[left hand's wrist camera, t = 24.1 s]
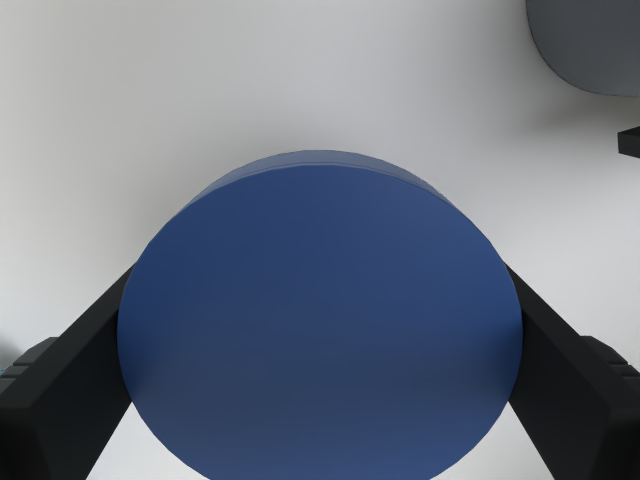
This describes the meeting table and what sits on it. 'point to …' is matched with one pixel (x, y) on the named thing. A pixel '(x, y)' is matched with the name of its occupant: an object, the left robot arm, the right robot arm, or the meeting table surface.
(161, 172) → the meeting table surface
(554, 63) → the jar
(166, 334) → the lid
